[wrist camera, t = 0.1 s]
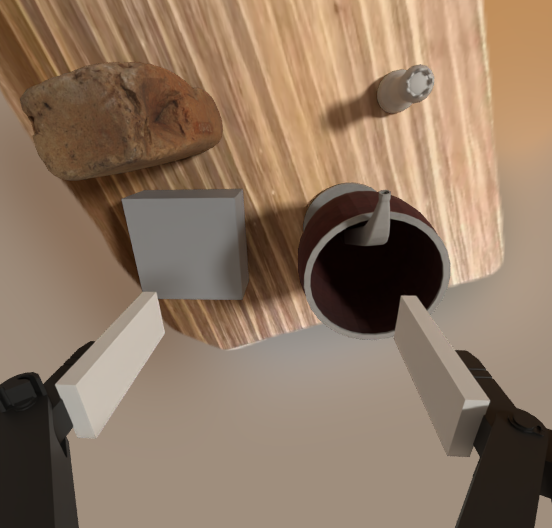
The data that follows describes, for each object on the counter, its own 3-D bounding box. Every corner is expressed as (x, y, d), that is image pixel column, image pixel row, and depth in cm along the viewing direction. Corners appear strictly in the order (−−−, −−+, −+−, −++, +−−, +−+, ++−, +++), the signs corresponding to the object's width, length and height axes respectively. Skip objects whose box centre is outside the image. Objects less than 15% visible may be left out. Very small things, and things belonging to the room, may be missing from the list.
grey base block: (144, 190, 42) (121, 199, 37) (242, 188, 42) (234, 197, 36) (161, 279, 48) (144, 298, 43) (248, 280, 47) (242, 299, 42)
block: (156, 165, 41) (44, 193, 23) (134, 105, 38) (-14, 81, 20) (232, 146, 39) (178, 160, 21) (215, 82, 37) (134, 33, 18)
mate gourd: (395, 267, 45) (463, 361, 26) (301, 274, 46) (305, 368, 28) (399, 157, 39) (492, 180, 20) (291, 170, 40) (287, 202, 22)
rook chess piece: (368, 92, 36) (386, 82, 29) (400, 61, 35) (427, 42, 27) (390, 122, 37) (413, 119, 30) (422, 93, 36) (454, 83, 28)
